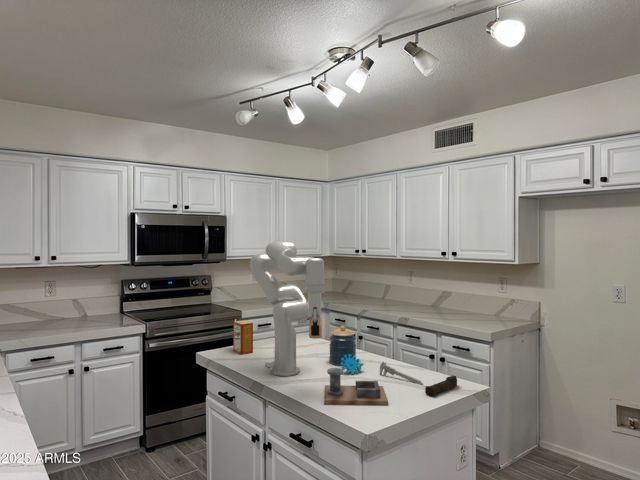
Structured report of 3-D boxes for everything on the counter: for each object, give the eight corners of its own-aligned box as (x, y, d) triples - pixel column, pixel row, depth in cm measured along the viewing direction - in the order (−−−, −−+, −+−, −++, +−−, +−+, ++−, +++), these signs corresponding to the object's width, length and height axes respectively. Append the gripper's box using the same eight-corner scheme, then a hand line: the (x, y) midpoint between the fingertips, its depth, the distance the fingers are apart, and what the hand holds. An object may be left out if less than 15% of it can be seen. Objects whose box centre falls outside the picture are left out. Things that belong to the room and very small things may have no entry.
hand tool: (433, 398, 166) (433, 386, 166) (424, 395, 169) (424, 383, 169) (462, 388, 178) (462, 376, 178) (454, 385, 181) (454, 374, 181)
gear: (342, 372, 191) (339, 352, 198) (338, 379, 195) (335, 359, 202) (366, 374, 194) (362, 354, 201) (361, 380, 198) (358, 360, 205)
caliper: (379, 375, 193) (379, 361, 193) (380, 375, 194) (380, 360, 194) (422, 385, 180) (422, 370, 180) (423, 384, 181) (423, 369, 181)
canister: (323, 361, 214) (323, 325, 213) (342, 356, 222) (342, 322, 222) (342, 367, 204) (342, 329, 204) (361, 362, 212) (361, 326, 212)
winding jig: (324, 404, 159) (324, 376, 159) (324, 389, 175) (325, 364, 175) (388, 405, 159) (388, 377, 159) (382, 389, 175) (382, 364, 174)
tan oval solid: (309, 338, 175) (308, 318, 175) (309, 335, 180) (309, 316, 180) (321, 338, 175) (321, 318, 175) (321, 335, 180) (321, 316, 180)
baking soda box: (233, 350, 233) (233, 320, 233) (244, 349, 237) (244, 319, 237) (241, 354, 226) (241, 323, 225) (252, 352, 230) (252, 322, 229)
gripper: (306, 286, 186) (306, 330, 186) (304, 291, 169) (305, 338, 168) (324, 286, 186) (324, 329, 185) (324, 291, 169) (324, 338, 168)
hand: (315, 333), depth 177 cm, fingers closed on tan oval solid, 4 cm apart
